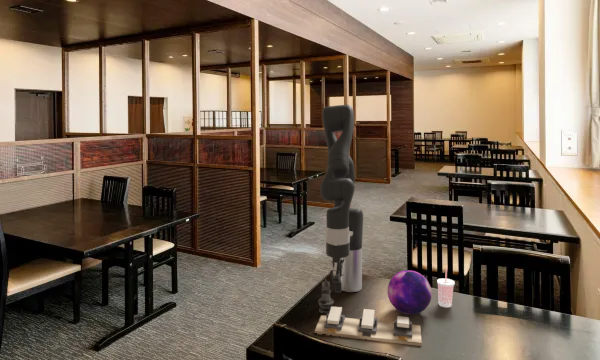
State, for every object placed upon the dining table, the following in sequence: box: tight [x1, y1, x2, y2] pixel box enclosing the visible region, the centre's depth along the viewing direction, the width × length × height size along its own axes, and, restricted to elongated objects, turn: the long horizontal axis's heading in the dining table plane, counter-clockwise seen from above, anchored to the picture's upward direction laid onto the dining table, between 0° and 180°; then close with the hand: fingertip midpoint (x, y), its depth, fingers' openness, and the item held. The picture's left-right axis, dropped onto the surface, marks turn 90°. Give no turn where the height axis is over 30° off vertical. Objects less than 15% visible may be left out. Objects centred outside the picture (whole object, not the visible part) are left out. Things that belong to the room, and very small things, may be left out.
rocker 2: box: [361, 308, 376, 329], centre depth 132 cm, size 8×4×1 cm, turn 165°
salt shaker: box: [317, 278, 335, 315], centre depth 145 cm, size 6×6×12 cm
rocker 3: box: [396, 315, 410, 328], centre depth 129 cm, size 8×4×1 cm, turn 166°
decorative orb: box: [387, 270, 433, 315], centre depth 143 cm, size 15×15×15 cm
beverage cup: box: [436, 267, 456, 308], centre depth 148 cm, size 6×6×14 cm
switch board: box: [314, 313, 423, 347], centre depth 131 cm, size 11×33×4 cm, turn 75°
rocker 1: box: [327, 306, 343, 324], centre depth 134 cm, size 8×4×1 cm, turn 165°
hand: (338, 292), depth 131 cm, fingers closed
